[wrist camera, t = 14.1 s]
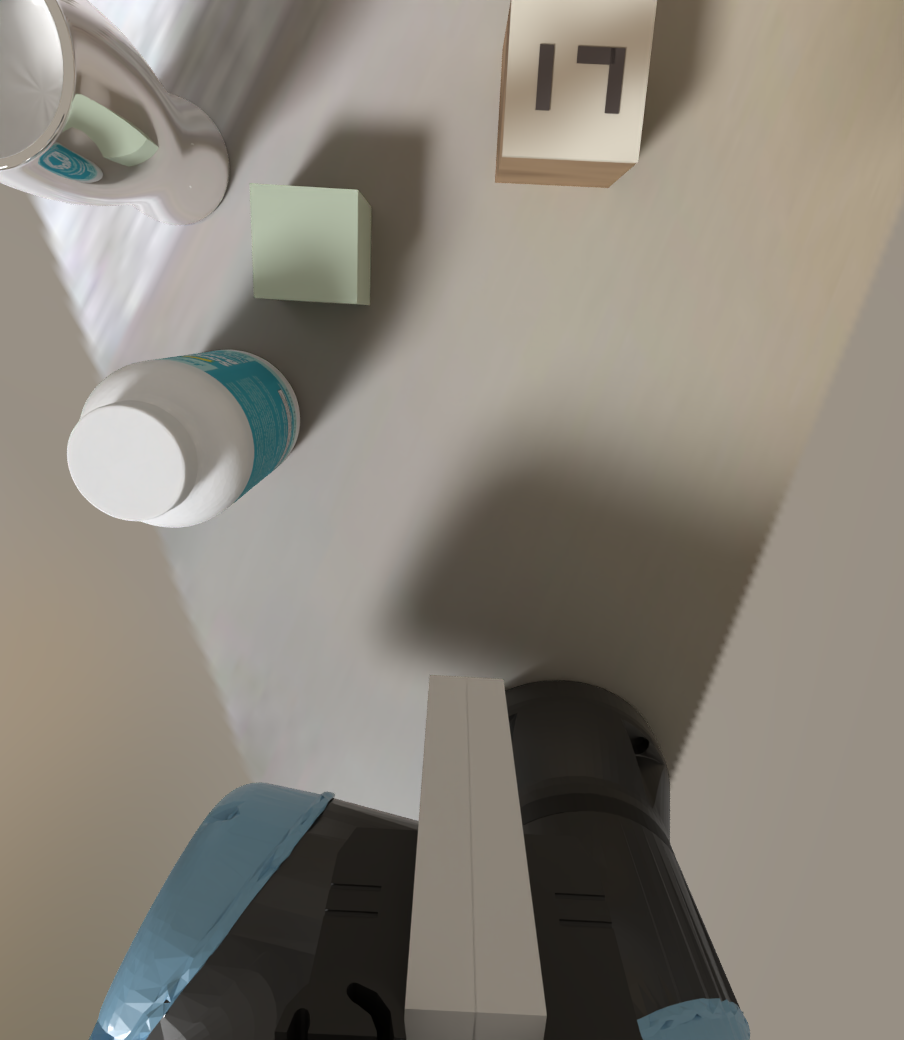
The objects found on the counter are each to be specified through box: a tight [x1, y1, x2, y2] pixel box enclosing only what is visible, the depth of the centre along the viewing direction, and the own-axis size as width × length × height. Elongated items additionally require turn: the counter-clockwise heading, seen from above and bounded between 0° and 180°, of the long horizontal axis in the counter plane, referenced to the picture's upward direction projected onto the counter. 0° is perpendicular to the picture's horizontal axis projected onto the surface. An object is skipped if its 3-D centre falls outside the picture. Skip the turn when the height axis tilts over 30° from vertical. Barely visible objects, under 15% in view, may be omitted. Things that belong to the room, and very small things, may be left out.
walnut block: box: [495, 0, 657, 188], centre depth 30 cm, size 6×6×6 cm
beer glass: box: [0, 0, 230, 225], centre depth 27 cm, size 7×7×15 cm
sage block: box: [250, 183, 372, 305], centre depth 33 cm, size 5×5×5 cm
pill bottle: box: [67, 350, 300, 528], centre depth 31 cm, size 8×7×14 cm
